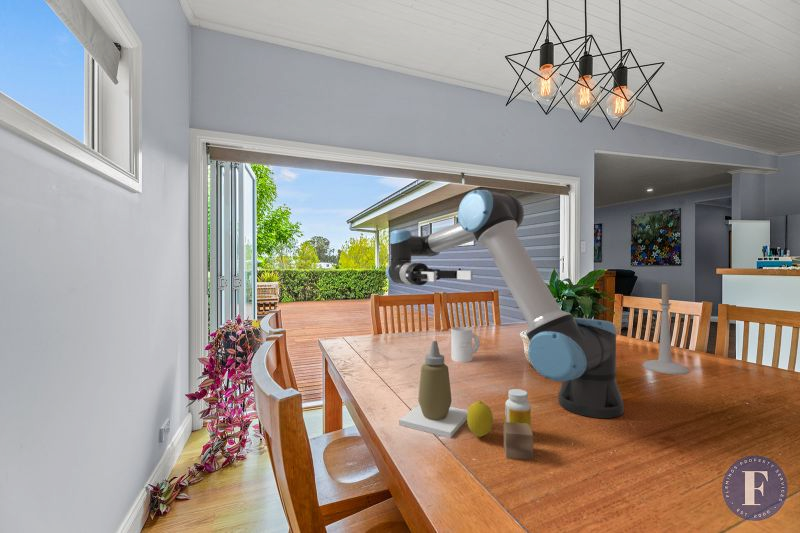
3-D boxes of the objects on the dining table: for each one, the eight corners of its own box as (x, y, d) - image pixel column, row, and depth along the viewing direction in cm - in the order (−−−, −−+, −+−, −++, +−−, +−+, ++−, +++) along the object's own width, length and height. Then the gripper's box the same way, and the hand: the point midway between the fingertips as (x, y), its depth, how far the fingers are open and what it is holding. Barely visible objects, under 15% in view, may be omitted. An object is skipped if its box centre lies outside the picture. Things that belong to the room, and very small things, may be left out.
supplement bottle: (500, 431, 83) (500, 389, 82) (519, 427, 85) (519, 386, 84) (515, 442, 78) (515, 397, 77) (536, 438, 79) (536, 394, 79)
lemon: (493, 444, 77) (493, 406, 77) (466, 442, 78) (466, 405, 78) (492, 432, 82) (492, 397, 82) (467, 430, 84) (467, 395, 83)
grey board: (470, 415, 91) (470, 410, 91) (450, 437, 80) (450, 432, 80) (423, 405, 98) (423, 401, 98) (398, 424, 86) (398, 419, 86)
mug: (485, 360, 141) (485, 329, 140) (457, 363, 137) (457, 331, 136) (474, 355, 148) (474, 325, 148) (447, 358, 144) (447, 327, 144)
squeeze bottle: (413, 419, 87) (413, 343, 86) (424, 406, 94) (423, 336, 94) (447, 424, 84) (446, 346, 83) (455, 411, 91) (454, 339, 91)
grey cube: (528, 447, 76) (528, 423, 76) (533, 460, 71) (532, 435, 71) (503, 445, 77) (503, 422, 77) (506, 458, 72) (506, 433, 72)
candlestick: (636, 362, 135) (636, 281, 135) (674, 364, 133) (674, 281, 133) (655, 373, 123) (655, 284, 122) (697, 375, 121) (697, 284, 120)
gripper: (444, 283, 132) (485, 286, 114) (382, 286, 120) (418, 291, 101) (444, 262, 132) (485, 262, 114) (382, 263, 119) (417, 263, 101)
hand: (453, 276), depth 107 cm, fingers open, 13 cm apart
